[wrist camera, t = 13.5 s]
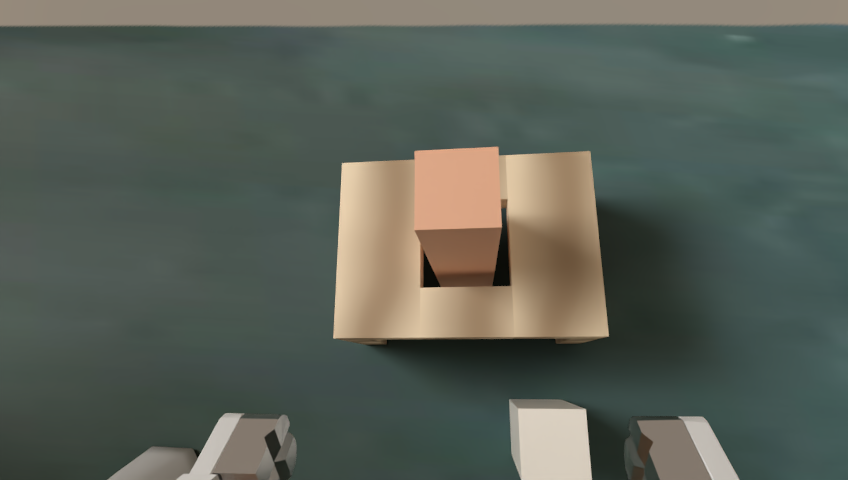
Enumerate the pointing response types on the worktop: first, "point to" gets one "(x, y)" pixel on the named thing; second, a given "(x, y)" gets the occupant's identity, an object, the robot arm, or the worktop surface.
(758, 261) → the worktop surface
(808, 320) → the worktop surface
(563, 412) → the short block
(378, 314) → the tan block with hole
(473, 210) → the long pin
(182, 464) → the flask
